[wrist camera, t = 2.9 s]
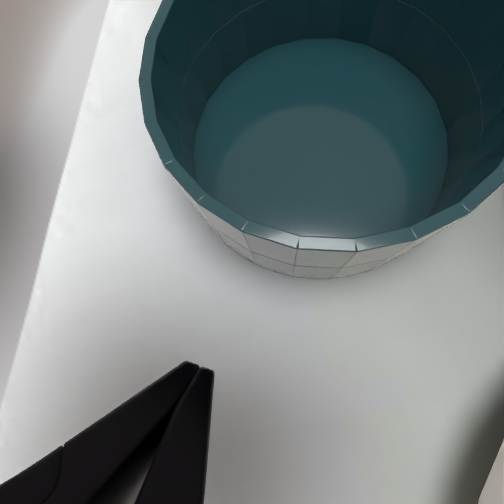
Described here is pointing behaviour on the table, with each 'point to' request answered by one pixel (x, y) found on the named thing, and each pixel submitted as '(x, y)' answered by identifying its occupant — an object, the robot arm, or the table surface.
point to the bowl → (327, 122)
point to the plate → (494, 482)
